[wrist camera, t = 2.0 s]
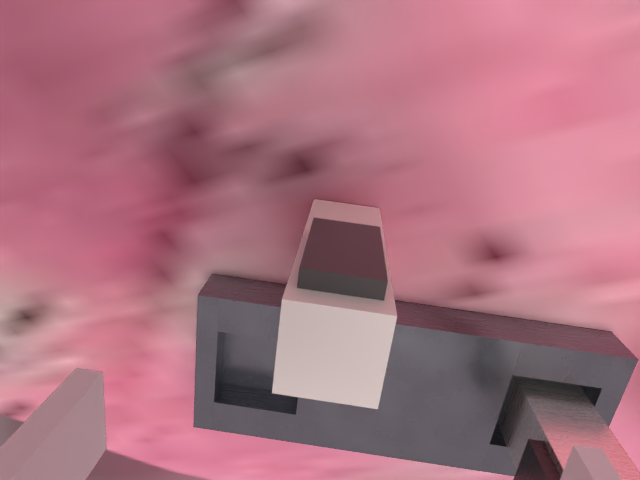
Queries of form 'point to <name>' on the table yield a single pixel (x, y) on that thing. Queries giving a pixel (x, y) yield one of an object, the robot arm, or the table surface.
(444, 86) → the table surface
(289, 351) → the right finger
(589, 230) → the table surface
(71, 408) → the robot arm
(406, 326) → the grey and white block
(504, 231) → the table surface
